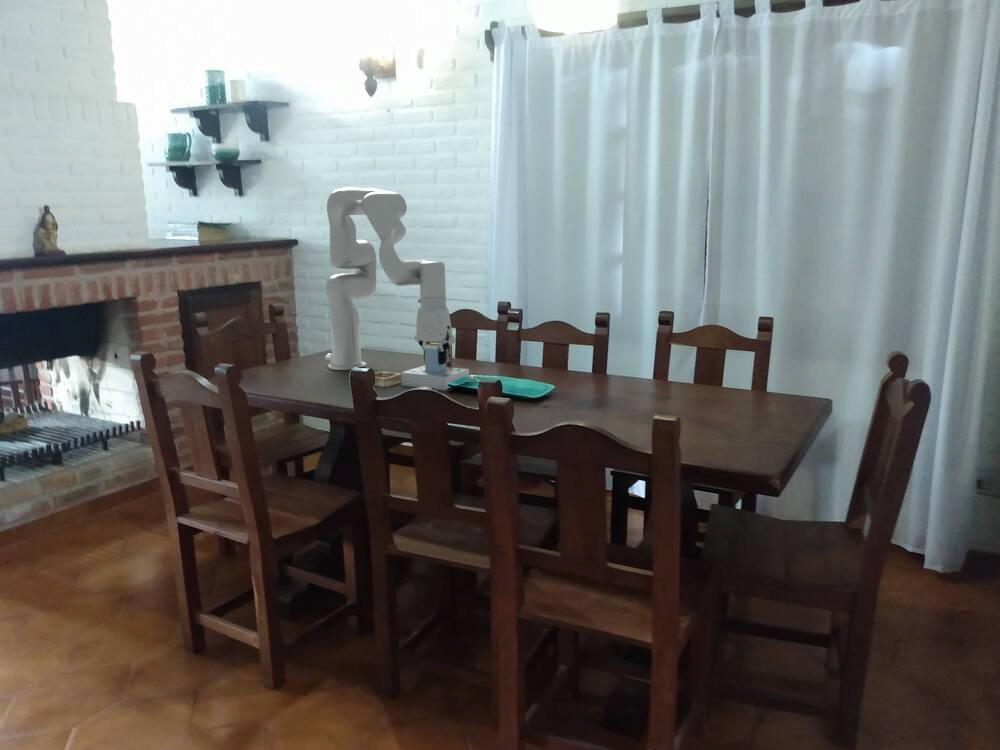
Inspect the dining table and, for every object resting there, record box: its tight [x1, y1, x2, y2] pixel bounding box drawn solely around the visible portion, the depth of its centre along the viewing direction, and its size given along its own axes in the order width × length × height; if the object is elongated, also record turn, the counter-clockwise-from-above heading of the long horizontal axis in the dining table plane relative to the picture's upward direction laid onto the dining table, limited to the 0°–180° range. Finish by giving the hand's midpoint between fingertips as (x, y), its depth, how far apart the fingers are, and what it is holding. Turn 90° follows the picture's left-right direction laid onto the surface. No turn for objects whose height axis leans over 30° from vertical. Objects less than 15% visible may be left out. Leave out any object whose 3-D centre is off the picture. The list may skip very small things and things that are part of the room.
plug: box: [424, 343, 446, 374], centre depth 230 cm, size 4×4×9 cm
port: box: [400, 365, 470, 391], centre depth 232 cm, size 16×13×4 cm
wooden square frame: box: [374, 370, 402, 388], centre depth 234 cm, size 9×9×2 cm
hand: (435, 362), depth 231 cm, fingers closed on plug, 4 cm apart
